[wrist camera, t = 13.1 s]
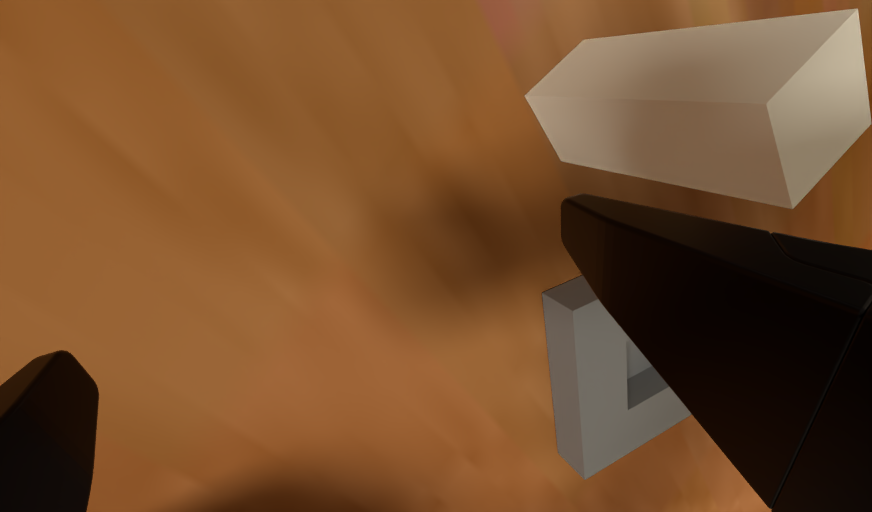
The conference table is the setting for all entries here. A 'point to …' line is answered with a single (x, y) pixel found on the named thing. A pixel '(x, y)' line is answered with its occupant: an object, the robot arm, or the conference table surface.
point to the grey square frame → (600, 382)
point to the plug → (713, 104)
